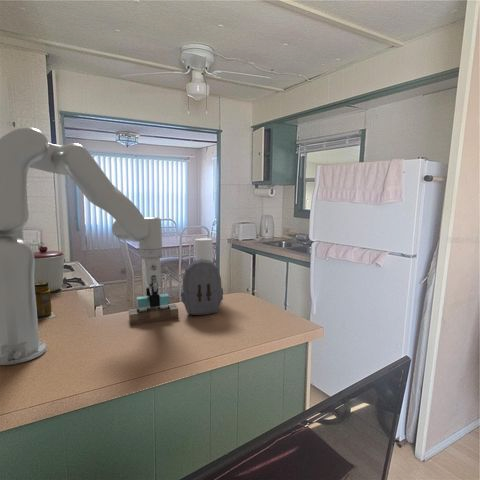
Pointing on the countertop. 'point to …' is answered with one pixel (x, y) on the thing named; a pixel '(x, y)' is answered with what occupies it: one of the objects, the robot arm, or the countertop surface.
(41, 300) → the condiment
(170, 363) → the countertop surface
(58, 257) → the canister
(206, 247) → the cylindrical container
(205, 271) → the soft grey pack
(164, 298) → the teal and white bridge
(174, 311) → the tan slotted block
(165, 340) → the countertop surface
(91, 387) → the countertop surface
